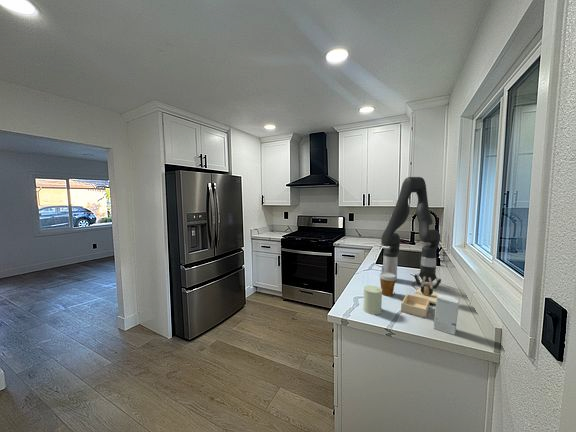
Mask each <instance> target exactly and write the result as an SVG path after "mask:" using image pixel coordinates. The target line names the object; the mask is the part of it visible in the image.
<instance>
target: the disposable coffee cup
mask: <svg viewBox="0 0 576 432" xmlns="http://www.w3.org/2000/svg"><path fill="white" fill-rule="evenodd" d="M379 280H380V281H379V282H380V288H381V289H382V296H385V297H392V296H393V295H394V290H395V284H396V281H395V280H396V276H395V275H394V274H392V273H382V272H381V273H380V274H379Z"/></svg>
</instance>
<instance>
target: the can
mask: <svg viewBox="0 0 576 432" xmlns="http://www.w3.org/2000/svg"><path fill="white" fill-rule="evenodd" d="M382 297H383V294H382V289H381V287H379V286H377V285H365V286H363V307H362V309H363V311H364V312H365V313H367V314H370V315H380V314H382V312H383V311H382V310H383V309H382V299H383V298H382Z"/></svg>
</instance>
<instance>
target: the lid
mask: <svg viewBox="0 0 576 432" xmlns="http://www.w3.org/2000/svg"><path fill="white" fill-rule="evenodd" d="M429 293H430V284H424V291H423V293H422V292H421V288H417V289H416V291H415V293H414V294H413V296H418V297H422V298H426V299H429V304H430V303H431V304H434V305H436V300H437V296H438V294H440V292H435V291H433V293H432V294H431V295H429Z"/></svg>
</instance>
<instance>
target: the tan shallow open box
mask: <svg viewBox="0 0 576 432" xmlns="http://www.w3.org/2000/svg"><path fill="white" fill-rule="evenodd" d="M400 306H401V307H400V312H401V313H404V314H408V315H410V316H411V315H412V316H415V317H418V318H419V317H420V318H422V319H426V317H427V314H428V312H429V308H430V303H429V299H426V298H422V297H418V296H414V294H413V295H412V294H407V293H406V294H405V295H404V298H403V299H402V301H401V305H400Z"/></svg>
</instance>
